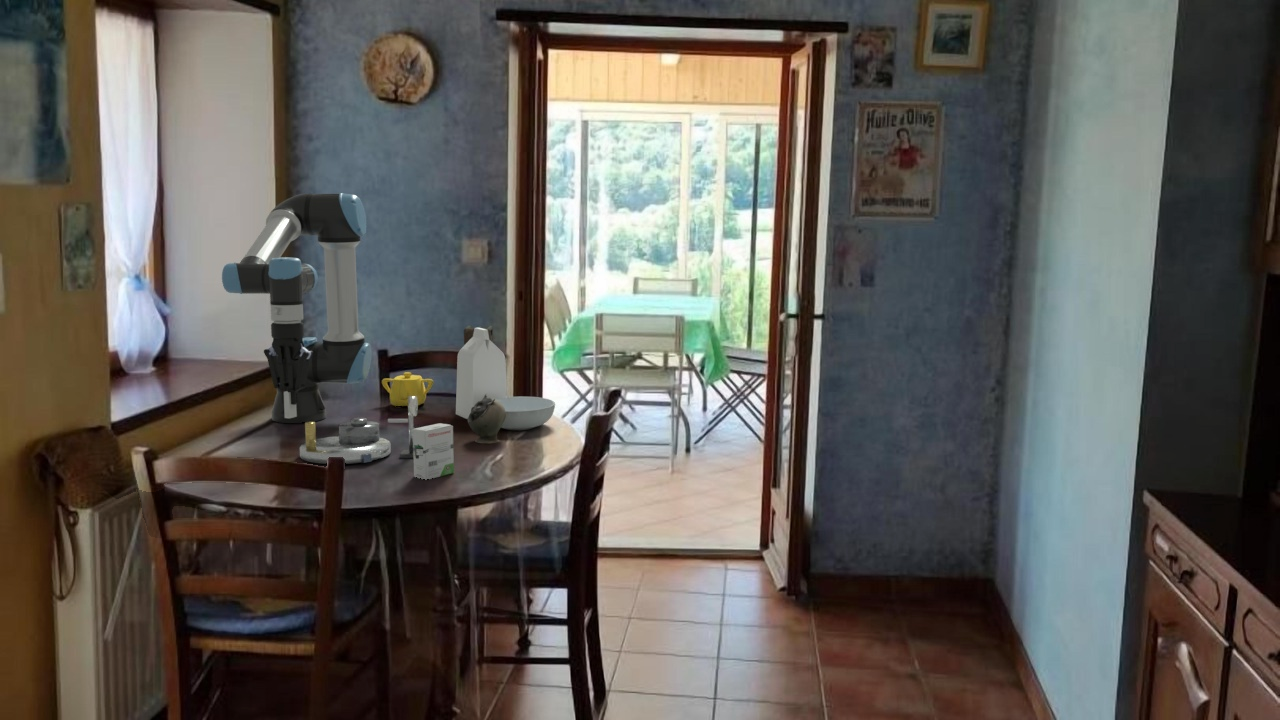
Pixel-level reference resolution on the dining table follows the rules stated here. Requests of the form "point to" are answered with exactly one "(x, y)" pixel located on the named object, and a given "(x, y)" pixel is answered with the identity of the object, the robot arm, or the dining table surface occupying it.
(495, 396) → the milk
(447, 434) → the ink box
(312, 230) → the robot arm
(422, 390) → the teapot
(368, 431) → the cover
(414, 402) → the rod on square base
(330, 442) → the turntable
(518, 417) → the serving bowl
